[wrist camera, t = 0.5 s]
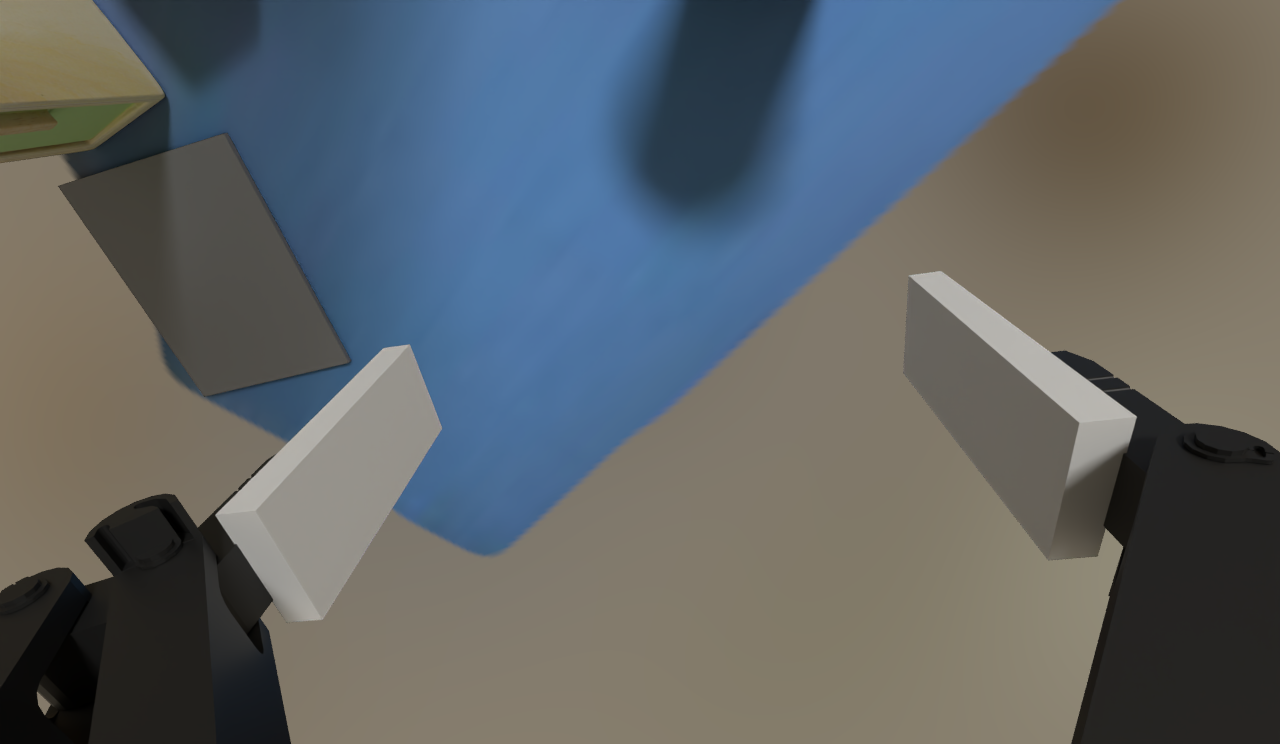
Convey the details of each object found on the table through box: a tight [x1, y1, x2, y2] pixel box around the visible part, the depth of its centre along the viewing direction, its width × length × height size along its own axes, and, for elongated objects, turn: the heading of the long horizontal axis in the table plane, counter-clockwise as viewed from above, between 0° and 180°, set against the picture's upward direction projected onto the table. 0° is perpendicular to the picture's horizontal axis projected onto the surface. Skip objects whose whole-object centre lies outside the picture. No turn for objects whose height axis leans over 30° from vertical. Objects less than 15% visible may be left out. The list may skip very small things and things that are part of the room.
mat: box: [58, 133, 351, 397], centre depth 44 cm, size 18×14×1 cm
